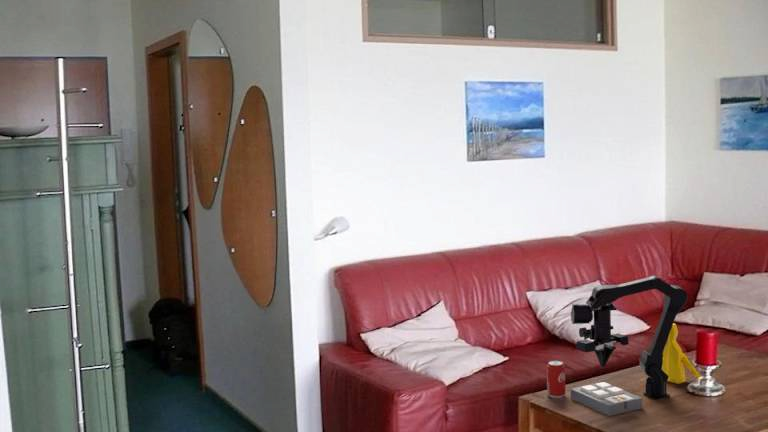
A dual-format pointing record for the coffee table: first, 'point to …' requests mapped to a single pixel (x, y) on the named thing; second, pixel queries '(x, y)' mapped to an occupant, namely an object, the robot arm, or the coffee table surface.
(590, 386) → the button
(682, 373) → the figure statuette
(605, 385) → the button
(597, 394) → the button
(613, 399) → the panel
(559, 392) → the beverage can
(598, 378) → the coffee table surface
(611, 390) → the button
